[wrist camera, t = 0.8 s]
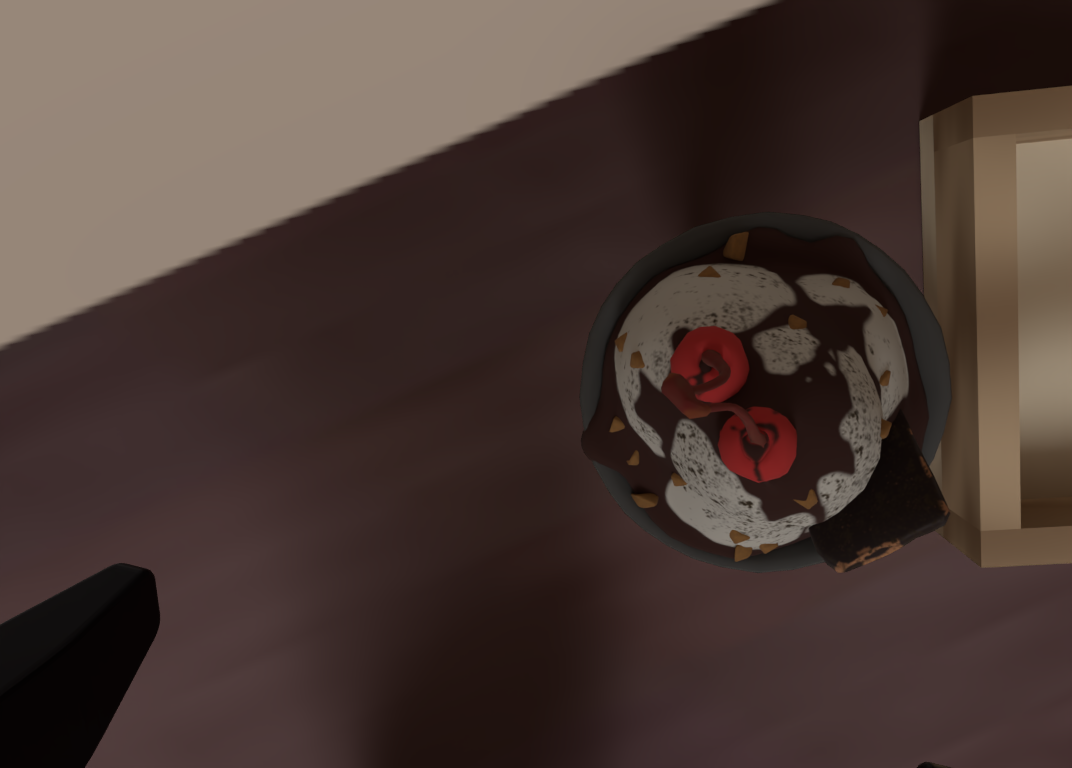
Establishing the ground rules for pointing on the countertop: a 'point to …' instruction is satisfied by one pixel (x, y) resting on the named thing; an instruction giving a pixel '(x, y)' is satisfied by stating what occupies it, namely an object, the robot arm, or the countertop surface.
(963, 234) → the cream square tray
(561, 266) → the countertop surface
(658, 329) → the sundae
